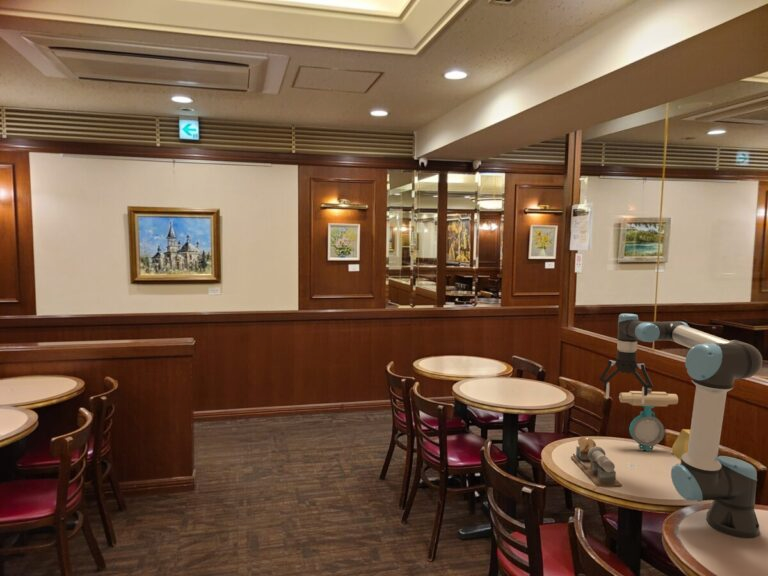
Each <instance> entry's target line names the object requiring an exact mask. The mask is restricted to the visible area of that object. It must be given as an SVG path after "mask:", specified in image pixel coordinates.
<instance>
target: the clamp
mask: <svg viewBox="0 0 768 576" xmlns="http://www.w3.org/2000/svg"><path fill="white" fill-rule="evenodd" d="M690 429H691V428H690ZM690 429H687V428H686V429H685V428H683V429H681V430H680V432H679V434H678V436H677V437H676V439H675V441H674V443H673V445H672V446H671V447H672V448H671V454H672V455H673V454H674V455H675V456H674V455H673V456H674V457H675V458H677V459H678V460H679V461H681V457H682V455H683V454H684V453H686V452H687V451H688V444H689V436H690Z"/></svg>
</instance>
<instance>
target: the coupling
mask: <svg viewBox="0 0 768 576" xmlns="http://www.w3.org/2000/svg"><path fill="white" fill-rule="evenodd" d="M577 444H578V446H576V448H575V455H576V456H577V457H578V458H579V459H580V460H581V461H590V460H589V458H588V452H589V450H590V449H591V448H592V447H595V446H597V445H596V442H595V441H594V440H593V439H592V438H590V437H589V438H588V437H585V436H583V437H579V438H578V440H577Z"/></svg>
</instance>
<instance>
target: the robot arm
mask: <svg viewBox="0 0 768 576" xmlns="http://www.w3.org/2000/svg"><path fill="white" fill-rule="evenodd" d="M638 341H641V342H644V343H653V342H655V341H657V342H658V341H669V342H670V341H671V342H674V343H676V344H678V345H681V346H684V347H686V348H688V349H689V350H688V352H687V354H686V357H685V360H684V361H685V364H684V366H685V369H687V370H686V373H687V374H688V376H689V377H690V378H691V382H692V384H694V385H695V393H694V400H693V408H692V415H691V422H690V436H689V444H688V451H687V452H686V453H684V454H683V455H682V457H681V460H680V464H679V463H677V464H674V465H673V466H672V468H671V471H670V478H671V482H672V485H673V486H674V488H675V491H676V492H677V493H678V495H680V497H682V498H683V499H684V500H686V501H689V502H695V501H696V502H702V501H712V502H711V504H710V507H709V509H708V511H706V512H707V513H706V519H705V520H707V521H706V523H707V522H708V523H707V524H708V525H709V526H710V527H712V528H713V529H715V530H716V531H718V532H721V533H723V534H726V535H728V536H732V537H736V538H742V539H752V538H757V537H759V535H760V523H759V521H758V516H757V514H756V511H755V505H756V492H757V482H758V478H757V476H758V475H757V473H758V472H757V471H758V470H757V468H755V466H753V465H752V464H751V463H748V462H747V461H744V460H742V459H738V458H735V457H731V456H727V455H726V456H725V455H719V449H720V442H721V435H722V428H723V421H724V415H725V414H724V413H725V406H726V399H727V392H729V391H731V390H733V389H734V385H735V380H743V379H750V378H751V377H754V376H756V375H757V374H758V373H759V372H760V370H761V369H762V366H763V356H762V354H761V352H760V351H759V349H757V348H756V347H755V346H754V345H752V344H749V343H746V342H744V341H740V340H739V339H738V340H737V339H733V340H732V339H731V340H728V339H726V338H725V339H724V338H723V337H719V336H716V335H714V334H710V333H708V332H704V331H702V330H699V329H696V328H693V327H690V325H688V323H687V322H684V321H679V320H678V321H677V320H676V321H643V320H642V321H641V320H640V319H639V315H638V314H636V313H635V314H634V313H620V314H619V315H618V322H617V341H616V343H617V346H616V348H617V351H616V361H615V360H612V359H609V360H608V362H607V366H606V368H605V370H604V371H603V373H602V374H601V376H600V378H599V381H600V382H602V383H603V391H605V399H606V400H609V398H610V382H609V381H610V380H611V379H612V378H613V377H614V376H616V374H619V372H621V373H623V374H624V373H626V374H631V373H632V375H634V377H635V378H636V379H637V380H638V381H639V383H640V384H641V385H642V388H641V391H642V403H641V404H644V396H647V394H648V388H649V389H651V388H653V387H654V385H653V381H652V380H651V377H650V376H649V373H648V372H647V370H646V364H645V363H644V362H643V363H638V362H637V361H638V360H637V358H638V357H637V355H638V354H637V353H638V352H637V351H638ZM614 365H615V366H616V369H615V370H614V371H613V372H611V373H610V374H609V375H608V377H606V375H607V374H608V372H610V371H609V370H610V369H611V368H612V367H613V366H614ZM637 368H638V369H640V370H641V373H642V375H643V376H644V378H643V377H642V376H641V375H640V374H639V372H638V371H637ZM605 377H606V378H605ZM644 379H645V380H646V381H645V380H644Z"/></svg>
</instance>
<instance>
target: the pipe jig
mask: <svg viewBox="0 0 768 576" xmlns="http://www.w3.org/2000/svg"><path fill="white" fill-rule="evenodd" d="M588 458H589V460H590V461H581V460H580V459H579V458H578V457H577V456H576V453H572V456H570V459H571V460H572V461H573V463H575V465H577V467H578V468H579V469H580V470H581V471H582V473H584V475H585V476H587V478H588V479H589V480H590V481H591V482H592V483H593V484H594V485H595V486H596V487H598V488H599V487H604V488H605V487H608V488H609V487H611V488H613V487H614V488H622V487H623V485H622V483H621V482H620V481H619V480H618V479H617V478H616V477H617V475H616V474H617V471H616V470H615V467H616V465H615V464H614V462H613V461H612V460H611V459H609V458H608V457H607V455H606V451H605V450H604V449H603V448H602V447H600V446H597V445H596V446H595V447H592V448H591V449H590V450H589V452H588Z"/></svg>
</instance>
